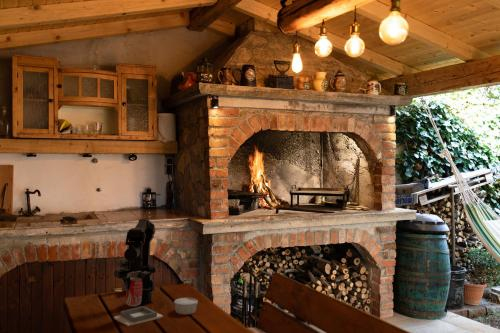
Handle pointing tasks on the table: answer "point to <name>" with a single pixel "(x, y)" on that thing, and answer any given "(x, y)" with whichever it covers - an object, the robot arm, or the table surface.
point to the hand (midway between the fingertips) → (135, 289)
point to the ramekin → (185, 305)
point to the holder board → (137, 316)
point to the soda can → (134, 292)
